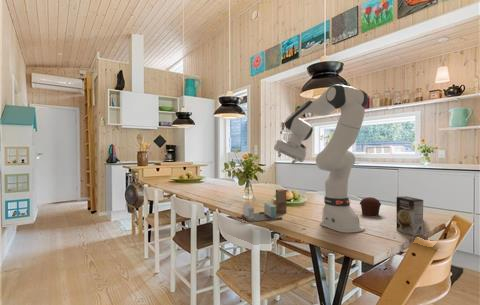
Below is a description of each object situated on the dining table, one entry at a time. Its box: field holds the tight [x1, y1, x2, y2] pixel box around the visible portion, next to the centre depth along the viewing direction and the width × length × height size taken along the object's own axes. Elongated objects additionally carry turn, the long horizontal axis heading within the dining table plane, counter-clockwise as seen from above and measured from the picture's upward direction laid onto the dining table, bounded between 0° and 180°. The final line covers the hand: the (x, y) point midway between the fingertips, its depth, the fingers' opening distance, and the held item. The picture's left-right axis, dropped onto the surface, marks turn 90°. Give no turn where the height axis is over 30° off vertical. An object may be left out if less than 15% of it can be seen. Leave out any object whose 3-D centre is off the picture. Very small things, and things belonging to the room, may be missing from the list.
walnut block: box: [275, 188, 287, 214], centre depth 167 cm, size 5×5×14 cm
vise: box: [241, 203, 283, 223], centre depth 156 cm, size 16×20×7 cm
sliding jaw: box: [263, 202, 277, 218], centre depth 157 cm, size 12×3×6 cm, turn 14°
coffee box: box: [396, 195, 424, 237], centre depth 124 cm, size 9×6×16 cm
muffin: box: [359, 196, 382, 217], centre depth 158 cm, size 12×11×10 cm
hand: (286, 159), depth 165 cm, fingers open, 8 cm apart
